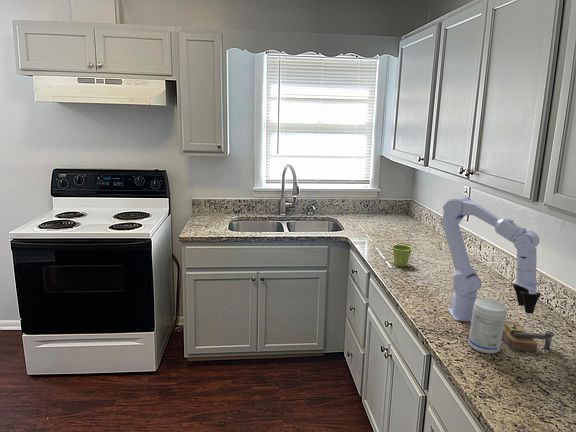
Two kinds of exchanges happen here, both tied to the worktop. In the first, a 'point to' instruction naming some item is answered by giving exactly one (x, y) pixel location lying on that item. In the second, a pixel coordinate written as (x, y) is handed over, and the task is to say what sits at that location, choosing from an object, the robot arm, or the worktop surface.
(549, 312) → the worktop surface
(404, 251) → the plant pot
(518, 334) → the lever
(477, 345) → the supplement tub
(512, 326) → the yellow rectangular block
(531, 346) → the body
